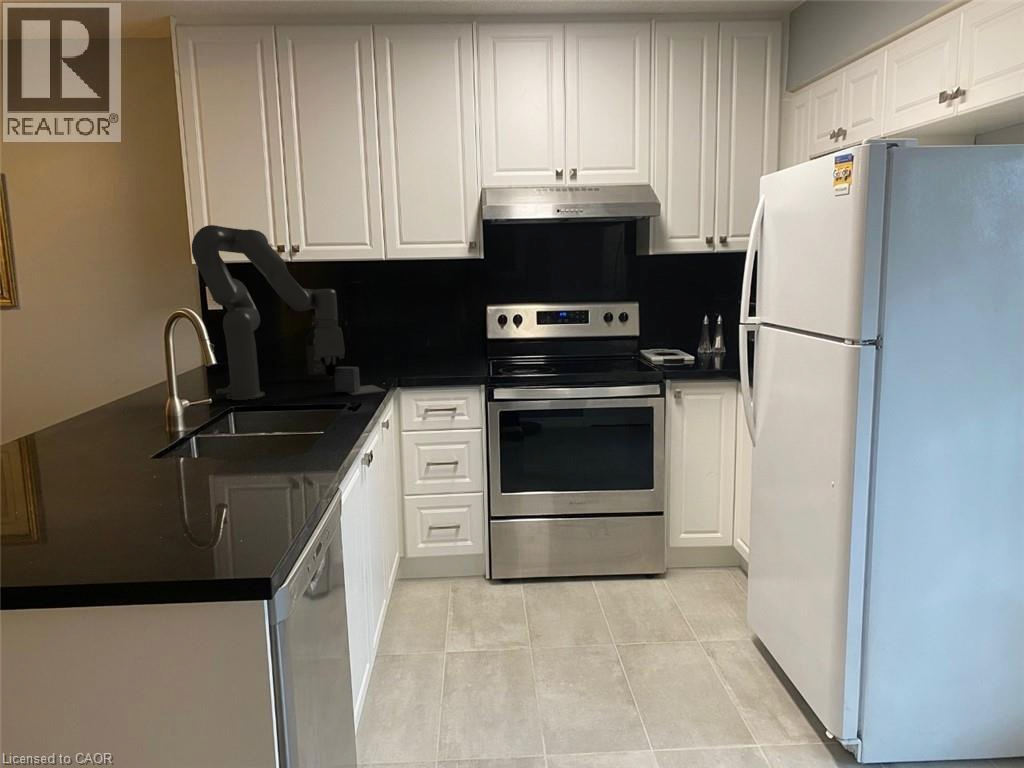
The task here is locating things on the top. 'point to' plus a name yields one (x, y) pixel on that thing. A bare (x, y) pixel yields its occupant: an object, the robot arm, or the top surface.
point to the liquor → (313, 366)
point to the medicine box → (347, 379)
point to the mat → (367, 390)
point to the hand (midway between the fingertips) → (330, 375)
